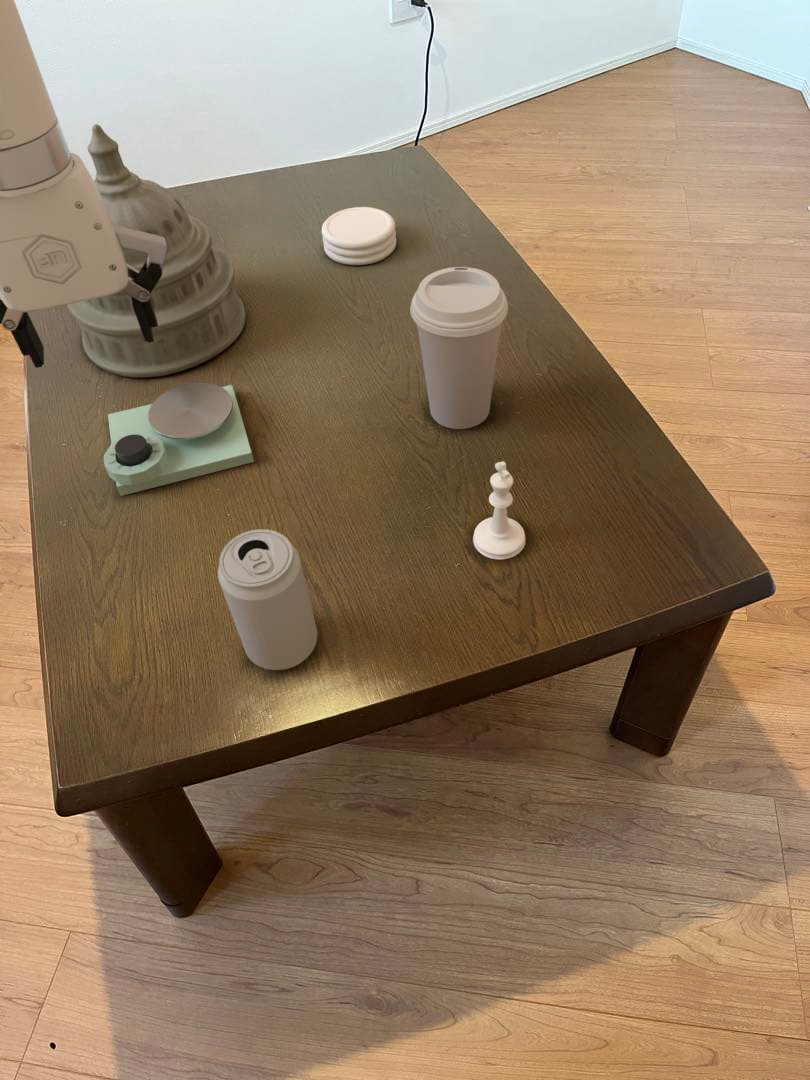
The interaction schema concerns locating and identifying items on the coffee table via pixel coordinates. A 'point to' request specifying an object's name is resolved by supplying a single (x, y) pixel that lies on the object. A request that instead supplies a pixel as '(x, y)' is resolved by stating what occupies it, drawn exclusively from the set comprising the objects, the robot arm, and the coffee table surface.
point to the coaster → (359, 236)
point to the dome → (180, 294)
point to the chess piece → (499, 521)
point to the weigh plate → (190, 410)
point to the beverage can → (268, 598)
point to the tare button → (132, 450)
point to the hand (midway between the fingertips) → (94, 345)
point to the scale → (175, 450)
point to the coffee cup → (459, 342)
